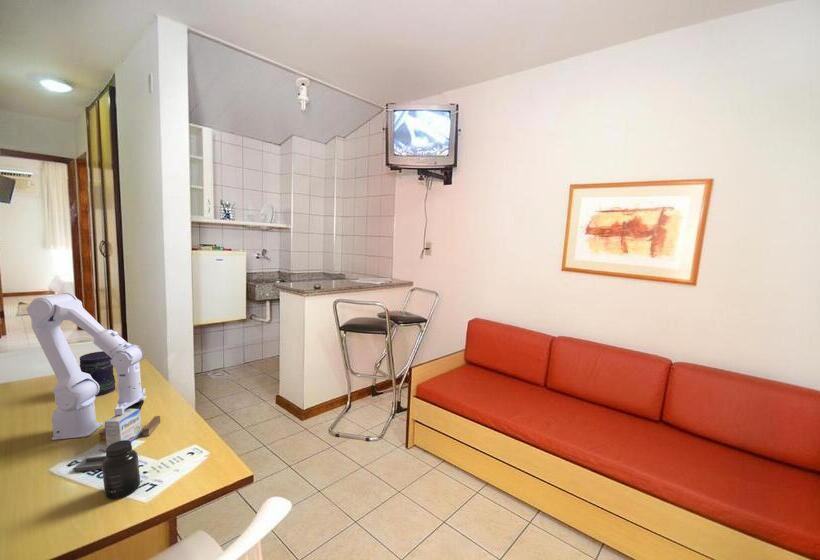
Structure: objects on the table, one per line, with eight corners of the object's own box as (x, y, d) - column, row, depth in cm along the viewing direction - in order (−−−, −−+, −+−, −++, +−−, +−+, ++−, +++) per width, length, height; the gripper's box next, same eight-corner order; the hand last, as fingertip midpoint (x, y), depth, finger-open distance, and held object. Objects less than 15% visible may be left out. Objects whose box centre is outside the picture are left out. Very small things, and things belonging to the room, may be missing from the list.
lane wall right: (143, 436, 110) (143, 429, 109) (155, 423, 117) (154, 416, 117) (149, 436, 110) (148, 428, 110) (160, 422, 118) (160, 415, 117)
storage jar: (119, 390, 140) (117, 354, 138) (87, 399, 132) (84, 361, 130) (110, 384, 145) (107, 349, 143) (78, 393, 137) (75, 356, 135)
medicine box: (121, 449, 103) (119, 421, 102) (106, 449, 103) (104, 421, 102) (142, 434, 111) (140, 408, 109) (128, 433, 111) (126, 408, 110)
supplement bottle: (118, 481, 90) (114, 437, 89) (146, 480, 91) (143, 436, 89) (97, 501, 83) (92, 454, 82) (127, 500, 84) (124, 453, 82)
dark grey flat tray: (74, 472, 93) (74, 468, 93) (85, 461, 97) (85, 457, 97) (114, 467, 95) (114, 463, 95) (123, 457, 99) (123, 453, 99)
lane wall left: (100, 440, 107) (99, 433, 106) (114, 426, 114) (114, 419, 114) (105, 440, 107) (105, 432, 107) (120, 426, 115) (119, 419, 114)
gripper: (132, 393, 105) (135, 436, 107) (154, 374, 119) (157, 412, 121) (104, 395, 103) (108, 438, 105) (130, 376, 117) (133, 414, 119)
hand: (132, 424), depth 113 cm, fingers closed
